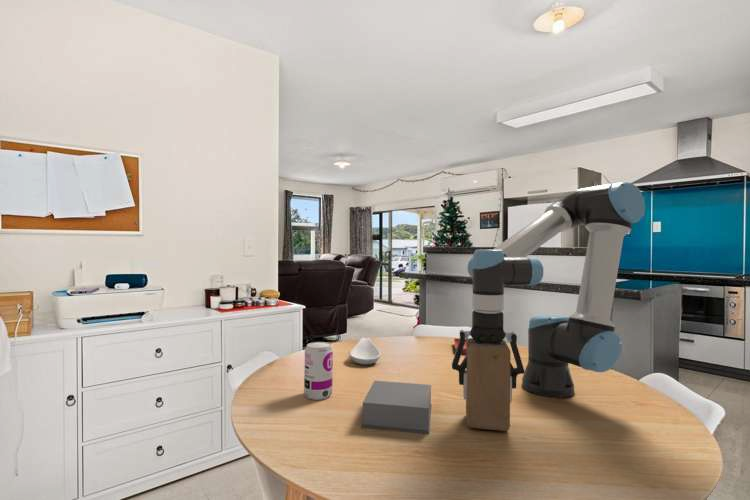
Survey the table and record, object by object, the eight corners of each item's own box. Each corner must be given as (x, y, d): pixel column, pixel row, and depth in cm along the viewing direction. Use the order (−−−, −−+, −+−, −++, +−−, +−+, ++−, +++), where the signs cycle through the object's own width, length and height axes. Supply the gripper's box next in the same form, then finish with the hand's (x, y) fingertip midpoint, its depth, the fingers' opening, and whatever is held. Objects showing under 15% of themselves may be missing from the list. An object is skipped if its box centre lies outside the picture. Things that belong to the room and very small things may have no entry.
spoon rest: (381, 368, 142) (381, 348, 142) (349, 368, 142) (349, 348, 141) (378, 350, 166) (378, 334, 166) (350, 350, 165) (350, 334, 165)
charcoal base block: (431, 406, 108) (431, 384, 108) (429, 433, 91) (429, 408, 91) (373, 401, 110) (373, 380, 110) (361, 427, 94) (361, 402, 94)
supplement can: (337, 393, 116) (337, 343, 116) (322, 402, 109) (323, 349, 109) (314, 388, 120) (315, 340, 120) (298, 397, 112) (299, 346, 112)
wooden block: (510, 433, 91) (511, 348, 91) (466, 429, 93) (467, 346, 93) (504, 415, 101) (505, 339, 101) (465, 411, 103) (466, 336, 103)
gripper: (532, 309, 99) (531, 396, 99) (442, 306, 103) (441, 390, 103) (539, 314, 91) (538, 408, 91) (441, 311, 95) (441, 401, 95)
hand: (486, 398), depth 97 cm, fingers closed on wooden block, 10 cm apart
